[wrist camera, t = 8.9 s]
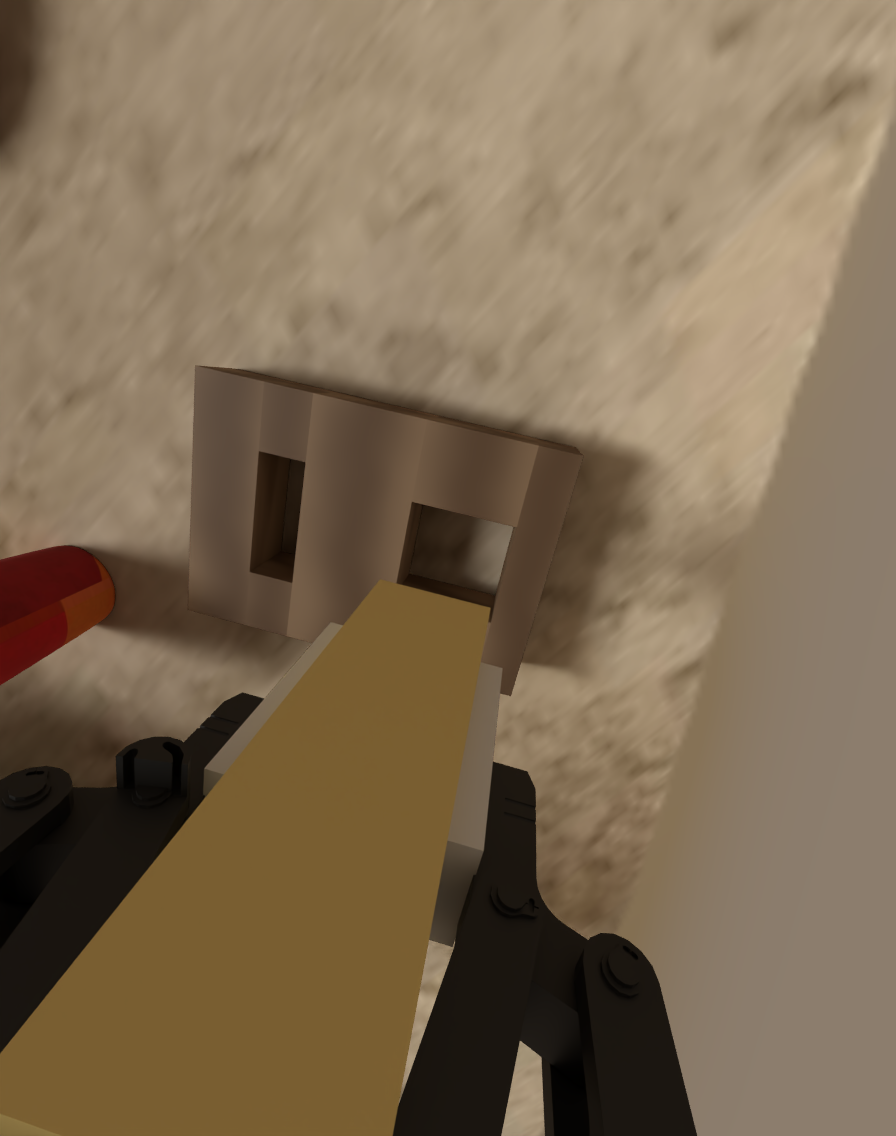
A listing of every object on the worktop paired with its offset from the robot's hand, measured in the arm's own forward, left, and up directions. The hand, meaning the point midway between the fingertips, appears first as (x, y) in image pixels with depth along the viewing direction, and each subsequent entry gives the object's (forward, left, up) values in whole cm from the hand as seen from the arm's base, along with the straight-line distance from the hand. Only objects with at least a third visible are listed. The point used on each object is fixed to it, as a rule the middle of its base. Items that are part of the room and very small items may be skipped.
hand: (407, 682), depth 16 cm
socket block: (-5, 0, -16) cm, 17 cm away
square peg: (0, 0, -3) cm, 3 cm away
